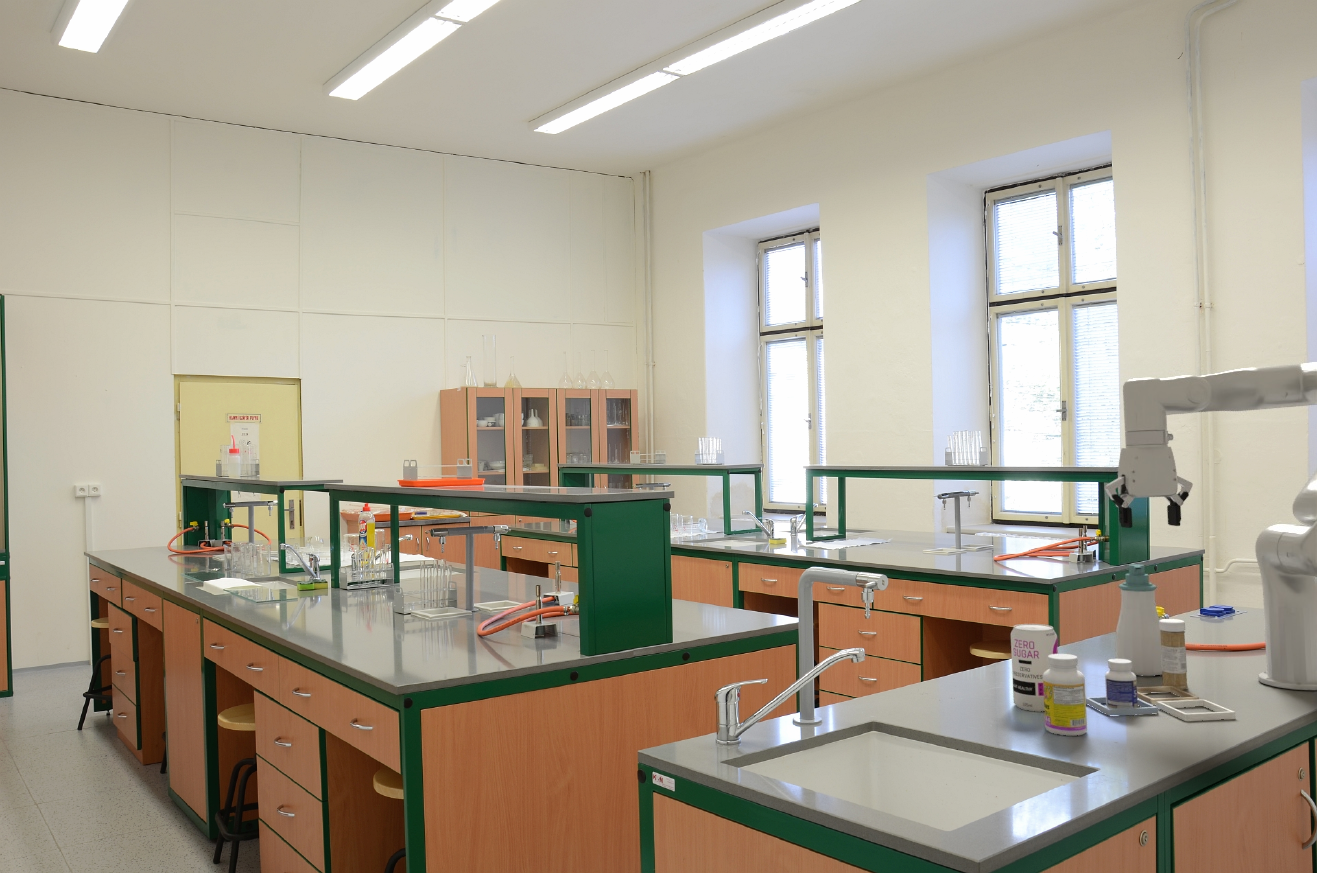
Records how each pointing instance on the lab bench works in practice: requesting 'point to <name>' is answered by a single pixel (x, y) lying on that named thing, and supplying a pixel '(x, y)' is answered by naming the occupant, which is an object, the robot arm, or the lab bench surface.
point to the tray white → (1217, 715)
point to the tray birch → (1171, 689)
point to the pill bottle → (1120, 685)
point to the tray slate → (1125, 711)
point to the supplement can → (1031, 663)
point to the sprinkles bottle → (1173, 653)
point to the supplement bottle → (1064, 696)
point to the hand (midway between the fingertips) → (1150, 526)
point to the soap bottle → (1139, 624)
